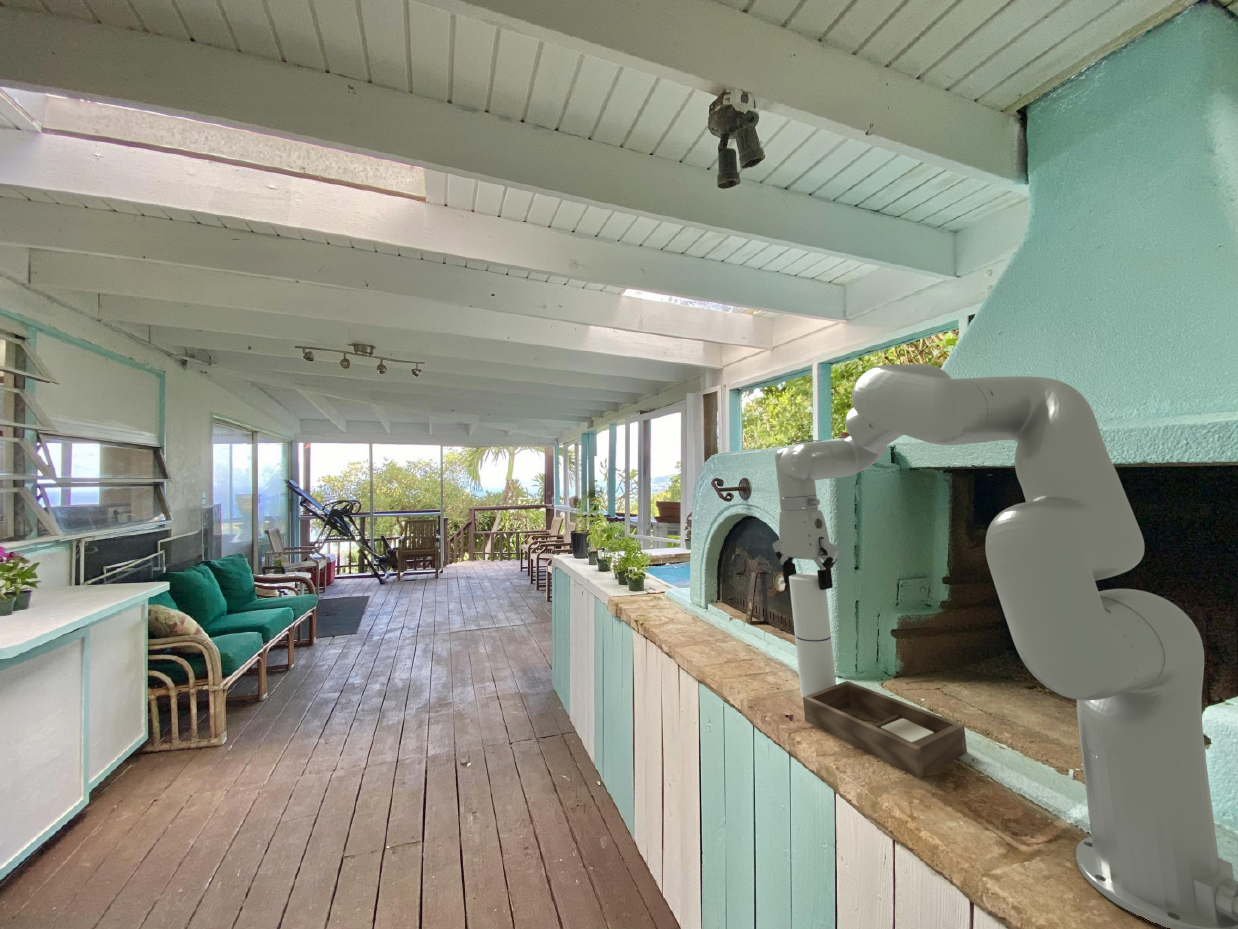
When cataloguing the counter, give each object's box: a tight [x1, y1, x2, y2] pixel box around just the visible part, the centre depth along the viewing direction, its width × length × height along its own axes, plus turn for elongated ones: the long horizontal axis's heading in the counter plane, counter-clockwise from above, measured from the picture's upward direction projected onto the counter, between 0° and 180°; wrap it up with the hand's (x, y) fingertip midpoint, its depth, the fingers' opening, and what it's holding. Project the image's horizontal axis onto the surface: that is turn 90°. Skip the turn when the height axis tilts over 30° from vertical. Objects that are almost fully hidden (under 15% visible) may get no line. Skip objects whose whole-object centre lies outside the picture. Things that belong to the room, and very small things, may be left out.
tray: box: [802, 680, 968, 779], centre depth 86 cm, size 22×12×5 cm, turn 26°
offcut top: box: [881, 718, 934, 744], centre depth 81 cm, size 6×5×2 cm
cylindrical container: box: [788, 572, 837, 699], centre depth 105 cm, size 7×7×25 cm
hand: (807, 585), depth 105 cm, fingers open, 9 cm apart
